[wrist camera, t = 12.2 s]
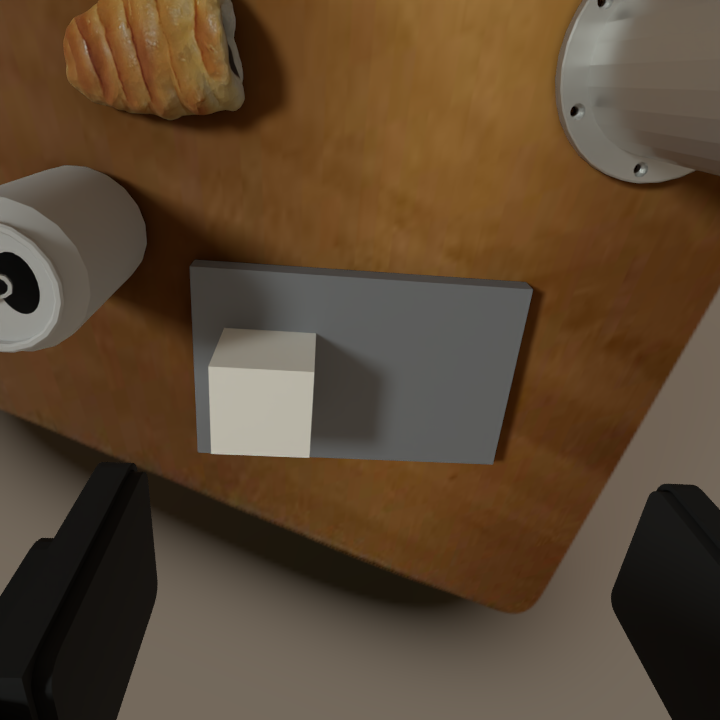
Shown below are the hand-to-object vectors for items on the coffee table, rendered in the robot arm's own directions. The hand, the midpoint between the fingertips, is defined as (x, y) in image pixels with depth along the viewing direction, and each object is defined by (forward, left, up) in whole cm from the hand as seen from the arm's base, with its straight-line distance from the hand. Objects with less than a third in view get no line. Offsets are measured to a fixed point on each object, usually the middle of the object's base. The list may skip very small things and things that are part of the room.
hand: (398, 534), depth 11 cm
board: (+4, +10, -28) cm, 30 cm away
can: (+15, -6, -28) cm, 33 cm away
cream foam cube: (+9, +7, -27) cm, 29 cm away
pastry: (+5, -12, -29) cm, 32 cm away
